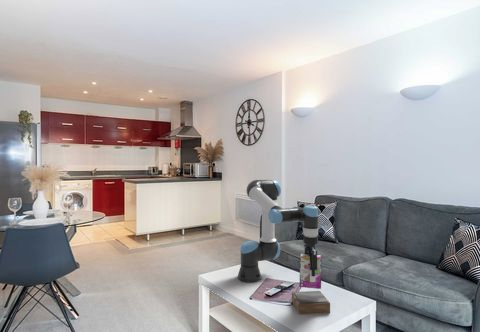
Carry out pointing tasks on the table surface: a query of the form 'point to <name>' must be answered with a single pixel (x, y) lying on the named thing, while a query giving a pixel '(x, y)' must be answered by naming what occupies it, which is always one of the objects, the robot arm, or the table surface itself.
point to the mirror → (310, 302)
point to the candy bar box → (306, 272)
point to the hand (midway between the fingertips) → (310, 279)
